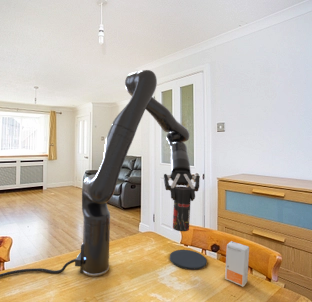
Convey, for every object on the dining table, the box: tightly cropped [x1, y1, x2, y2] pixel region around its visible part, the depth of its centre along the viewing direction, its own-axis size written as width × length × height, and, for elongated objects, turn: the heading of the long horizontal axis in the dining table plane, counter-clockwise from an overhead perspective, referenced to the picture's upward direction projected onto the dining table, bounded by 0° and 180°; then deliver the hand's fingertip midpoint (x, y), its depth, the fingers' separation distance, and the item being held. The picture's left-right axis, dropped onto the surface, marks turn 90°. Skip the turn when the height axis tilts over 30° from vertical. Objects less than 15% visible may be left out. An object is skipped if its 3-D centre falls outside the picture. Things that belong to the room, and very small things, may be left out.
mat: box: [169, 249, 208, 271], centre depth 88 cm, size 14×14×1 cm
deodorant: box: [172, 185, 192, 232], centre depth 82 cm, size 6×6×15 cm
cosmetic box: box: [224, 240, 250, 288], centre depth 75 cm, size 6×4×12 cm
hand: (183, 199), depth 81 cm, fingers closed on deodorant, 6 cm apart
